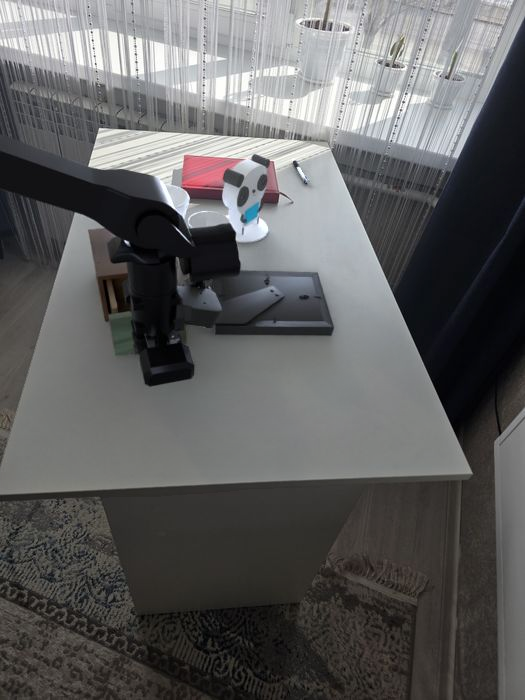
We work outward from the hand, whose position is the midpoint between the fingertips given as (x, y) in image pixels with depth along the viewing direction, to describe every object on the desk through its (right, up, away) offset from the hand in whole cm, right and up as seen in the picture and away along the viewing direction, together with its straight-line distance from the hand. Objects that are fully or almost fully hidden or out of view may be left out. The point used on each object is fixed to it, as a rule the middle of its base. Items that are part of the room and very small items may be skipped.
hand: (159, 367), depth 68 cm
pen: (+25, +50, +58) cm, 81 cm away
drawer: (-4, +5, +9) cm, 12 cm away
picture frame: (+16, +11, +19) cm, 27 cm away
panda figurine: (+11, +29, +36) cm, 48 cm away
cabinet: (-8, +13, +17) cm, 23 cm away
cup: (-5, +27, +31) cm, 41 cm away
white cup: (+4, +19, +25) cm, 32 cm away
